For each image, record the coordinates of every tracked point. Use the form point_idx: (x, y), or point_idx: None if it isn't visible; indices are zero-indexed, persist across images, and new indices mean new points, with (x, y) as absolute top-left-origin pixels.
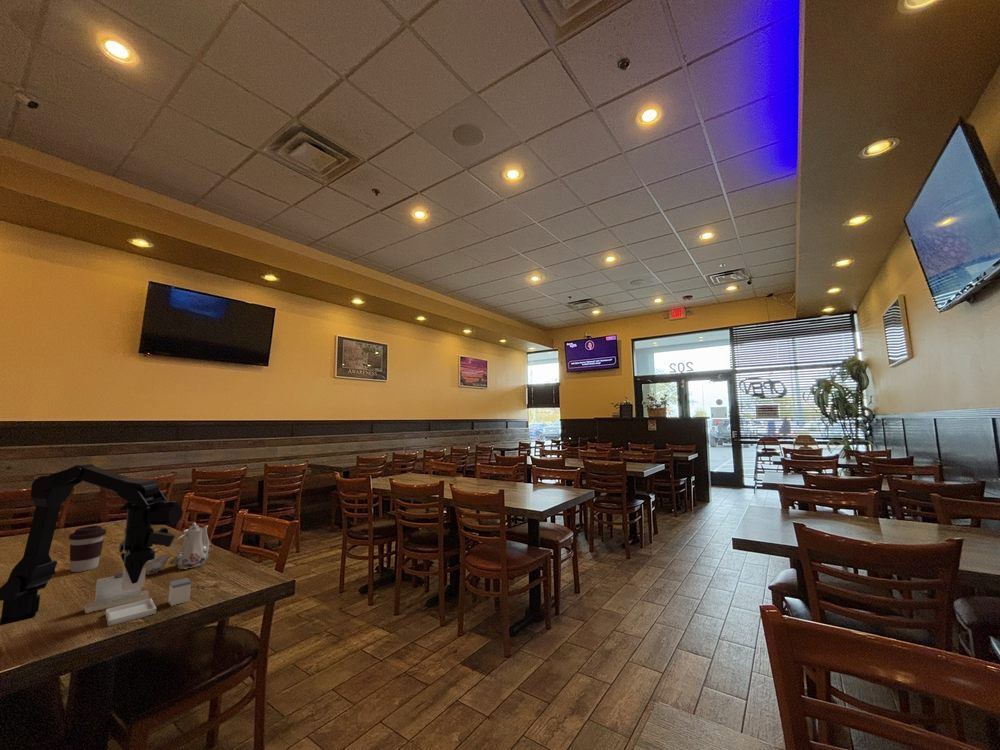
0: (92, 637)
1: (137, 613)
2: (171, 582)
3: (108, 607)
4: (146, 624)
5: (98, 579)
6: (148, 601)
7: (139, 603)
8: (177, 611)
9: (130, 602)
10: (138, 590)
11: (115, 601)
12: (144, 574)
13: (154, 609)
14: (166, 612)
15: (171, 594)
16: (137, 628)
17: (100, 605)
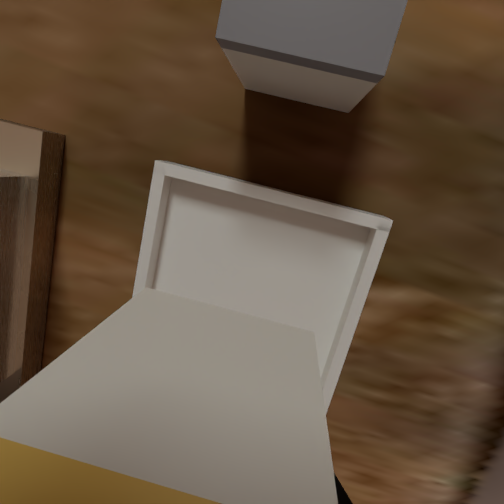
0: (388, 477)
1: (360, 312)
2: (259, 38)
3: (44, 313)
4: (494, 306)
5: None
6: (168, 179)
7: (159, 224)
8: (483, 124)
9: (55, 224)
10: (2, 192)
11: (28, 296)
12: (319, 430)
13: (386, 229)
14: (424, 171)
15: (344, 93)
16: (500, 350)
17: (26, 354)
